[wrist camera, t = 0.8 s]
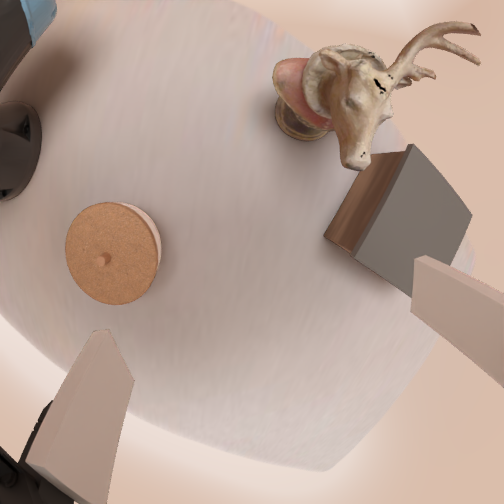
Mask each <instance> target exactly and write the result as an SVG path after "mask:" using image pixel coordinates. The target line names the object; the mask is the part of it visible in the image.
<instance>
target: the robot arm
mask: <svg viewBox="0 0 504 504" xmlns="http://www.w3.org/2000/svg"><path fill="white" fill-rule="evenodd" d="M56 13H57V6H56V2H55V0H0V92H1V90H2V88H3V87H4V85H5V84H6V82H7V80H8V79H9V77H10V76H11V74H12V73H13V72H14V70H15V69H16V67H17V66H18V65H19V63H20V62H21V61H22V59H23V58H24V57H25V55H26V54H27V53H28V52H29V50H30V49H32V48H33V47H34V46H35V44H36V41H37V40H38V39H39V37H40V36H41V35H42V34H43V32H44V31H45V30H46V29H47V28H48V26H49V25H50V24H51V23H52V22H53V20H54V18H55V16H56ZM40 147H41V125H40V121H39V117H38V115H37V113H36V111H35V110H34V109H33V108H32V107H31V106H30V105H28V104H25V103H21V102H18V101H12V102H7V103H2V104H0V201H4V200H9V199H12V198H14V197H16V196H17V195H18V194H19V193H21V192H22V190H23V189H24V188H25V187H26V185H27V184H28V182H29V180H30V179H31V177H32V175H33V172H34V170H35V167H36V164H37V161H38V157H39V153H40ZM410 312H411V313H413V314H414V315H415V316H417V317H418V318H419V319H421V320H422V321H423V322H424V323H426V324H427V325H428V326H430V327H431V328H432V329H433V330H435V331H436V332H437V333H439V334H440V335H441V336H442V337H444V338H445V339H446V340H447V341H449V342H450V343H451V344H452V345H454V346H455V347H456V348H457V349H458V350H460V351H461V352H462V353H463V354H465V355H466V356H467V357H468V358H470V359H471V360H472V361H473V362H474V363H476V364H477V365H478V366H479V367H480V368H481V369H483V370H484V371H485V372H486V373H487V374H488V375H489V376H491V377H492V378H493V379H494V380H495V381H497V383H499V384H500V385H501V386H502V387H503V388H504V293H502V292H500V291H499V290H497V289H495V288H493V287H491V286H489V285H487V284H485V283H483V282H481V281H479V280H477V279H475V278H473V277H471V276H469V275H467V274H465V273H463V272H461V271H459V270H457V269H455V268H453V267H451V266H449V265H446V264H444V263H442V262H440V261H438V260H436V259H433V258H431V257H429V256H427V255H424V256H421V257H418V258H415V259H414V277H413V291H412V302H411V311H410ZM134 381H135V380H134V378H133V377H132V375H131V373H130V371H129V369H128V367H127V365H126V363H125V362H124V360H123V358H122V356H121V354H120V352H119V350H118V347H117V345H116V343H115V341H114V339H113V337H112V335H111V332H110V330H109V329H106V330H99V331H94V332H93V333H92V335H91V336H90V338H89V340H88V341H87V343H86V344H85V346H84V348H83V349H82V351H81V353H80V354H79V356H78V358H77V359H76V361H75V363H74V364H73V366H72V368H71V369H70V371H69V373H68V375H67V376H66V378H65V380H64V382H63V384H62V385H61V387H60V389H59V391H58V393H57V395H56V396H55V398H54V400H52V401H51V402H50V403H49V404H48V405H47V406H46V407H45V408H44V409H43V411H42V413H41V415H40V417H39V419H38V423H36V425H35V427H34V431H32V433H31V435H30V437H29V439H28V441H27V444H26V446H25V448H24V450H23V453H22V455H21V458H20V460H19V462H18V463H17V462H16V461H15V460H14V459H13V458H11V456H9V454H7V452H6V451H5V450H4V449H3V448H2V447H1V446H0V504H74V501H75V502H77V503H79V504H107V499H108V493H109V487H110V482H111V476H112V471H113V466H114V461H115V456H116V452H117V447H118V442H119V438H120V434H121V430H122V426H123V422H124V418H125V414H126V410H127V406H128V403H129V399H130V395H131V392H132V388H133V385H134Z"/></svg>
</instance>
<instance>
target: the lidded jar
mask: <svg viewBox="0 0 504 504" xmlns="http://www.w3.org/2000/svg"><path fill="white" fill-rule="evenodd" d="M65 252H66V260H67V265H68V267H69V270H70V273H71V275H72V277H73V279H74V280H75V282H76V283H77V284H78V286H79V287H80V288H81V289H82V290H83V291H84V292H85V293H86V294H88V295H89V296H90V297H92V298H93V299H95V300H97V301H100V302H102V303H106V304H111V305H122V304H127V303H130V302H132V301H135V300H136V299H138V298H139V297H141V296H142V295H143V294H144V293H145V292H146V291H147V289H148V288H149V287H150V285H151V283H152V281H153V279H154V277H155V274H156V272H157V270H158V267H159V264H160V259H161V240H160V235H159V232H158V230H157V227H156V225H155V224H154V222H153V221H152V219H151V218H150V217H149V216H148V215H147V214H146V213H145V212H144V211H142V210H141V209H139V208H137V207H136V206H133V205H131V204H127V203H122V202H105V203H99V204H95V205H92V206H90V207H88V208H86V209H85V210H83V211H82V212H81V213H80V214H79V215H78V216H77V217H76V218H75V219H74V221H73V222H72V224H71V226H70V228H69V231H68V234H67V238H66V246H65Z"/></svg>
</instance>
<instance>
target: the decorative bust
mask: <svg viewBox="0 0 504 504" xmlns="http://www.w3.org/2000/svg"><path fill="white" fill-rule="evenodd" d="M448 33H463V34H471V35H479V36H481V34H480V33H479V31H478V30H477V28H476V27H475V26H474V25H473V24H471V23H464V22H444V23H438V24H435V25H432V26H430V27H428V28H426V29H424V30H423V31H422V32H420V33H419V34H418V35H416V36H415V37H414V38H413V39H412V40H411V41H410V42H409V43H408V44H407V45H406V46H405V47H404V48H403V49H402V51H401V53H400V54H399V55H398V57H397V59H396V60H395V62H394V63H393V64H392V65H391V66H390V67H389V68H388V69H387V68H386V66H385V64H384V62H383V61H382V59H381V58H380V57H379V56H378V55H377V54H376V53H374V52H372V51H370V50H367V49H365V48H363V47H361V46H357V45H352V44H342V45H339V46H328V47H324V48H322V49H321V50H319V51H317V52H315V53H314V54H313V55H312V56H311V57H310V59H309V58H291V59H285V60H282V61H280V62H278V63H277V64H276V66H275V68H274V71H273V76H272V78H273V84H274V86H275V89H276V91H277V93H278V94H279V98H278V100H277V103H276V107H275V117H276V120H277V123H278V124H279V126H280V128H281V129H282V130H283V131H284V132H285V133H286V134H287V135H289V136H291V137H293V138H296V139H299V140H305V141H313V140H317V139H319V138H321V137H323V136H325V134H326V133H327V132H328V131H336V134H337V137H338V140H339V145H340V159H341V163H342V165H343V166H344V167H345V168H348V169H351V170H355V171H364V170H365V169H366V168H367V166H369V165H370V163H371V157H370V149H371V143H372V139H373V137H374V134H375V132H376V130H377V128H378V127H379V125H380V124H382V123H383V122H384V121H385V120H386V119H388V118H391V117H392V116H393V110H392V105H391V99H390V97H391V92H392V91H393V89H394V88H395V89H397V90H398V89H400V88H403V87H406V86H410V85H411V84H412V81H411V80H410V78H411V79H413V80H414V81H419V80H420V79H421V78H423V77H430V78H433V79H436V75H435V73H434V71H433V70H430V69H427V68H423V67H420V66H417V65H414V64H413V60H414V58H415V56H416V55H417V53H418V52H419V51H420V50H422V49H424V48H429V47H431V48H432V47H433V48H437V49H441V50H445V51H448V52H451V53H454V54H456V55H458V56H460V57H462V58H464V59H466V60H468V61H470V62H472V63H474V64H476V65H480V63H481V61H480V60H479V58H478V57H476V56H475V55H473V54H472V53H470V52H469V51H467V50H466V49H464V48H462V47H460V46H458V45H456V44H453V43H451V42H449V41H447V40H446V39H444V38H443V35H444V34H448ZM408 77H409V78H408Z"/></svg>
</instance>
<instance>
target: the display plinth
mask: <svg viewBox="0 0 504 504" xmlns="http://www.w3.org/2000/svg"><path fill="white" fill-rule="evenodd" d="M370 157H371V163H370V165H369V166H367V168H366V169H365V170H364V171H360V172H359V174H358V176H357V178H356V180H355V181H354V183H353V185H352V187H351V189H350V190H349V192H348V194H347V196H346V197H345V199H344V201H343V203H342V205H341V206H340V208H339V210H338V211H337V213H336V215H335V217H334V218H333V220H332V222H331V224H330V225H329V227H328V229H327V230H326V232H325V234H324V235H323V236H324V237H326V238H328V239H329V240H331V241H332V242H334V243H335V244H337V245H338V246H340V247H341V248H343V249H344V250H346V251H347V252H349V253H350V256H351V257H353V258H354V259H356V260H357V261H359V262H360V263H362V264H363V265H365V266H366V267H368V268H369V269H371V270H372V271H374V272H375V273H376V274H378V275H379V276H381V277H382V278H384V279H385V280H387V281H388V282H389V283H391V284H392V285H394V286H395V287H397V288H398V289H399V290H401V291H402V292H404V293H405V294H406V295H408V296H409V297H411V298H412V291H413V277H414V259H415V258H418V257H421V256H424V255H427V256H429V257H431V258H433V259H436V260H438V261H440V262H442V263H444V264H446V265H449V266H450V264H451V262H452V260H453V258H454V256H455V254H456V252H457V250H458V248H459V246H460V244H461V241H462V239H463V237H464V235H465V232H466V230H467V228H468V225H469V223H470V220H471V218H472V214H471V212H470V211H469V210H468V208H467V207H466V205H465V204H464V202H463V201H462V200H461V198H460V197H459V196H458V194H457V193H456V192H455V191H454V189H453V188H452V187H451V185H450V184H449V183H448V182H447V181H446V179H445V178H444V177H443V176H442V175H441V173H440V172H439V171H438V170H437V169H436V167H435V166H434V165H433V164H432V163H431V162H430V161H429V160H428V158H427V157H426V156H425V155H424V154H423V153H422V152H421V151H420V150H419V149H418V148H417V147H416V146H415V145H414V144H408V146H407V148H406V150H405V151H401V152H390V153H381V154H372V155H370Z"/></svg>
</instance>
